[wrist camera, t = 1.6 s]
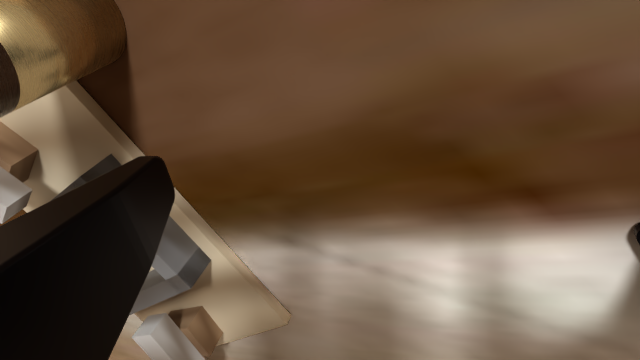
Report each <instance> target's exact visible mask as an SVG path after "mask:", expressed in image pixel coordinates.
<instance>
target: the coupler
mask: <svg viewBox="0 0 640 360" xmlns="http://www.w3.org/2000/svg"><path fill="white" fill-rule="evenodd" d="M125 45H126V28H125V24H124V20H123V17H122V15H121V12H120V10H119V8H118V6H117V5H116V3H115V2H114V0H0V118H1V117H3V116H5V115H7V114H9V113H11V112H13V111H15V110H17V109H19V108H21V107H23V106H25V105H27V104H29V103H31V102H33V101H35V100H37V99H39V98H41V97H43V96H45V95H47V94H50V93H52V92H54V91H56V90H58V89H60V88H62V87H64V86H66V85H68V84H70V83H72V82H74V81H76V80H78V79H80V78H82V77H84V76H86V75H88V74H90V73H92V72H94V71H96V70H98V69H100V68H102V67H104V66H106V65H108V64H110V63H112V62H114V61H116V60H117V59H118V58H119V57H120V56H121V55H122V53H123V51H124V48H125Z"/></svg>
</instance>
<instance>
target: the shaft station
mask: <svg viewBox="0 0 640 360" xmlns="http://www.w3.org/2000/svg"><path fill="white" fill-rule="evenodd" d="M139 156H145V155H144V154H143V153H142V152H141V151H140V150H139V148H138V147H137V146H136V145H135V144H134V143H133V142H132V141H131V140H130V139H129V138H128V136H127V135H126V134H125V133H124V132H123V131H122V130H121V129H120V128H119V127H118V126H117V124H116V123H115V122H114V121H113V120H112V119H111V118H110V117H109V116H108V115H107V114H106V112H105V111H104V110H103V109H102V108H101V107H100V106H99V105H98V104H97V103H96V102H95V100H94V99H93V98H92V97H91V96H90V95H89V94H88V93H87V92H86V91H85V89H84V88H83V87H82V86H81V85H80V84H79V83H78V82H77V81H74V82H72V83H70V84H68V85H66V86H64V87H62V88H60V89H58V90H56V91H54V92H52V93H50V94H47V95H45V96H43V97H41V98H39V99H37V100H35V101H33V102H31V103H29V104H27V105H25V106H23V107H21V108H19V109H17V110H15V111H13V112H11V113H9V114H7V115H5V116H3V117H1V118H0V223H1V224H2V223H4V222H5V221H6V220H8V219H9V218H11V217H12V216H13V215H15V214H16V213H18V212H19V211H20V210H22V209H23V210H24V211H26V212H27V213H28V212H30V211H32V210H34V209H36V208H38V207H40V206H42V205H44V204H46V203H48V202H50V201H52V200H54V199H56V198H58V197H60V196H62V195H64V194H66V193H68V192H69V191H71V190H73V189H75V188H77V187H79V186H81V185H83V184H85V183H87V182H89V181H91V180H93V179H95V178H97V177H99V176H101V175H103V174H105V173H107V172H109V171H111V170H113V169H115V168H117V167H119V166H121V165H123V164H125V163H127V162H129V161H131V160H133V159H135V158H137V157H139ZM174 190H175V200H174V203H173V206H172V209H171V212H170V215H169V218H168V221H167V224H166V227H165V230H164V233H163V236H162V239H161V242H160V245H159V248H158V250H157V253H156V256H155V259H154V261H153V264H152V266H151V269H150V271H149V273H148V276H147V278H146V280H145V282H144V284H143V286H142V288H141V291H140V293H139V295H138V297H137V299H136V301H135V303H134V306H133V308H132V310H131V312H130V314H129V315H131V314H133V313H134V314H135V315H136V316H137V317H139V318H140V319H141V320H142V321H143V323H142V324H141V326H140V327H139V328H138V330H137V331H136V332H135V334H134V335H133V336H132V338H133V339H134V340H135V342H136V343H137V344H138V345H139V346H140V347H141V348H142V349H143V350H144V352H145V353H146V354H147V355H148V356H149V357H150V358H151V359H152V360H205V359H204V358H203V357H206V356H210V355H211V354H212V352H213V350H214V348H215V347H216V346H219V345H222V344H225V343H229V342H232V341H235V340H239V339H242V338H245V337H249V336H252V335H255V334H258V333H262V332H265V331H268V330H272V329H275V328H278V327H281V326H285V325H287V324H288V322H289V320H290V317H291V315H290V313H289V312H288V311H287V310H286V309H285V308H284V307H283V306H282V305H281V304H280V303H279V301H278V300H277V299H276V298H275V297H274V296H273V295H272V294H271V293H270V292H269V291H268V289H267V288H266V287H265V286H264V285H263V284H262V283H261V282H260V281H259V280H258V279H257V277H256V276H255V275H254V274H253V273H252V272H251V271H250V270H249V269H248V268H247V266H246V265H245V264H244V263H243V262H242V261H241V260H240V259H239V258H238V257H237V256H236V254H235V253H234V252H233V251H232V250H231V249H230V248H229V247H228V246H227V245H226V244H225V242H224V241H223V240H222V239H221V238H220V237H219V236H218V235H217V234H216V233H215V232H214V230H213V229H212V228H211V227H210V226H209V225H208V224H207V223H206V222H205V221H204V220H203V218H202V217H201V216H200V215H199V214H198V213H197V212H196V211H195V210H194V209H193V207H192V206H191V205H190V204H189V203H188V202H187V201H186V200H185V199H184V198H183V197H182V195H181V194H180V193H179V192H178V191H177V190H176V189H175V188H174Z"/></svg>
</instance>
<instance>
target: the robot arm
mask: <svg viewBox="0 0 640 360" xmlns="http://www.w3.org/2000/svg"><path fill="white" fill-rule="evenodd" d="M174 200H175V190H174V186H173V184H172V181H171V178H170V176H169V173H168V170H167V167H166V165H165V162H164V161H163V159H162V158H160V157H158V156H139V157H137V158H135V159H133V160H131V161H129V162H127V163H125V164H123V165H121V166H119V167H117V168H115V169H113V170H111V171H109V172H107V173H105V174H103V175H101V176H99V177H97V178H95V179H93V180H91V181H89V182H87V183H85V184H83V185H81V186H79V187H77V188H75V189H73V190H71V191H69V192H68V193H66V194H64V195H62V196H60V197H58V198H56V199H54V200H52V201H50V202H48V203H46V204H44V205H42V206H40V207H38V208H36V209H34V210H32V211H30V212H28V213H26V214H24V215H22V216H20V217H18V218H16V219H14V220H12V221H10V222H8V223H6V224H4V225H2V226H0V360H108V359H109V357H110V355H111V353H112V350H113V348H114V346H115V344H116V342H117V340H118V338H119V335H120V333H121V331H122V329H123V327H124V325H125V323H126V320H127V318H128V316H129V314H130V312H131V310H132V308H133V306H134V303H135V301H136V299H137V297H138V295H139V293H140V291H141V288H142V286H143V284H144V282H145V280H146V278H147V276H148V273H149V271H150V269H151V266H152V264H153V261H154V259H155V256H156V253H157V250H158V248H159V245H160V242H161V239H162V236H163V233H164V230H165V227H166V224H167V221H168V218H169V215H170V212H171V209H172V206H173V203H174ZM634 234H635V236H636V239H637V241H638V243H639V244H640V223H639V224H638V225H637V226H636V227H635V228H634Z"/></svg>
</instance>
